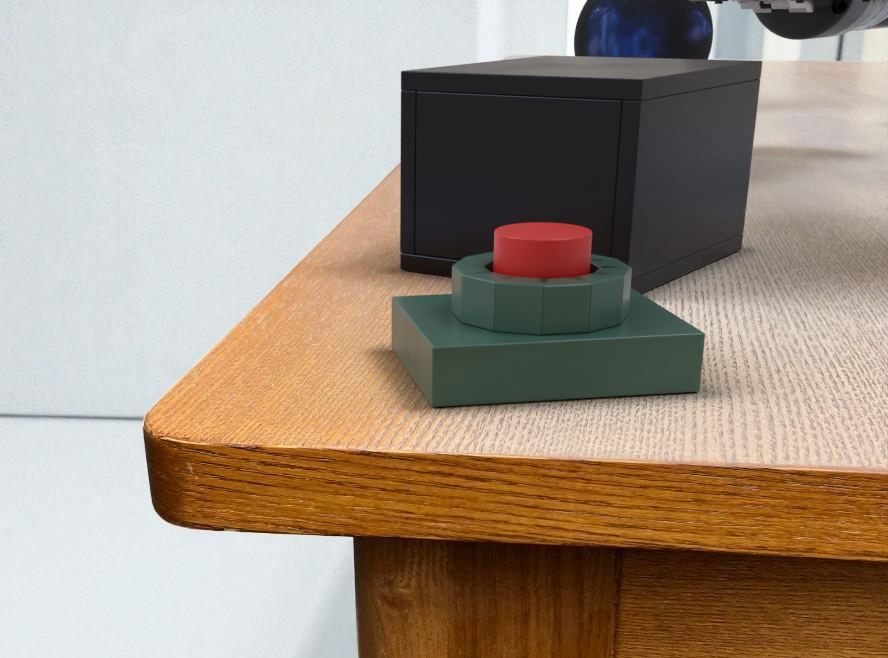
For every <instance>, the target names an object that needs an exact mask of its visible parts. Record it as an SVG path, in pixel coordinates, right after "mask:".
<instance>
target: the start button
mask: <svg viewBox="0 0 888 658" xmlns="http://www.w3.org/2000/svg"><path fill="white" fill-rule="evenodd" d="M591 245H592V231H591V230H590V229H588V228H585V227H582V226H578V225H572V224H564V223H547V222H533V223H517V224H510V225H505V226H501V227H498V228H497V229H495V232H494V259H493V272H494V273H498V274H503V275H507V276H512V277H527V278H541V279H550V278H572V277H578V276H582V275H587V274H590V261H591Z"/></svg>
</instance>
